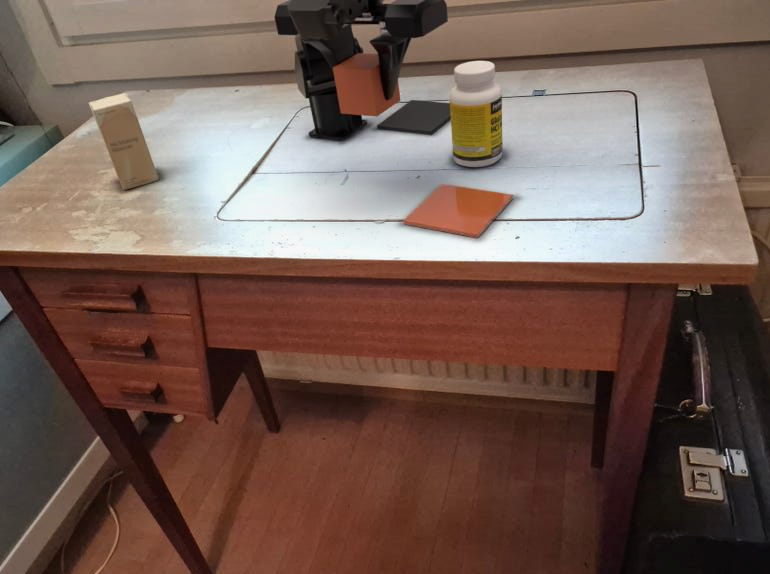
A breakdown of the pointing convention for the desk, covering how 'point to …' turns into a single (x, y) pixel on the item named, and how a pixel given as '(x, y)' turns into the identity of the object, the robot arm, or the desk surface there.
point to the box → (124, 140)
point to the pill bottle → (476, 115)
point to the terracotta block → (362, 86)
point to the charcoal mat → (418, 117)
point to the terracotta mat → (459, 210)
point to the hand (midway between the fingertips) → (369, 97)
